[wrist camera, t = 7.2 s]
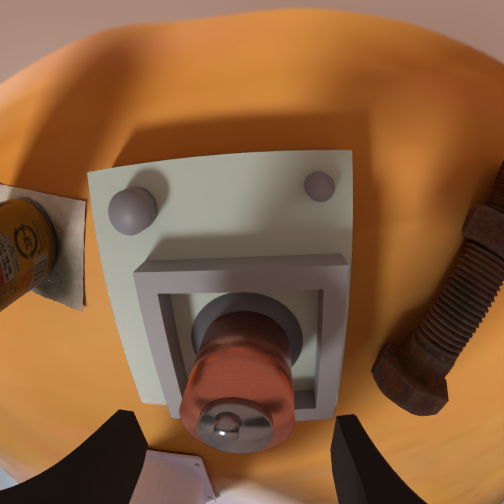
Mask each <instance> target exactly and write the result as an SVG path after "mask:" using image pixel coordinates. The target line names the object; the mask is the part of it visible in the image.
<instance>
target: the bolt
mask: <svg viewBox="0 0 504 504" xmlns="http://www.w3.org/2000/svg"><path fill="white" fill-rule="evenodd" d="M496 179H497V180H496V181H495V186H493V190H492V191H491V196H489V201H487V202H486V204H487V206H485V205H480V204H478V205H475V206H474V207H473V208H472V210H471V211H470V214H469V216H468V218H467V220H466V222H465V224H464V226H463V228H462V234H463V236H464V237H465V238H466V239H468V240H469V241H470V243H467V244H468V247H469V248H465V251H466V253H462V255H463V258H460V259H459V260H460V263H459V264H456V265H457V267H458V269H454V271H455V274H451V276H452V279H448V281H449V284H445V286H446V289H442V291H443V294H439V297H440V299H436V302H437V304H433V307H434V309H430V312H431V313H427V318H424V319H423V321H424V323H421V324H420V326H421V327H419V328H417V330H416V331H415V332H414V333H412V335H411V336H410V338H409V339H408V341H407V342H406V343H405V345H404V346H403V347H402V348H400V347H398V346H395V345H393V344H390V343H388V344H387V345H386V346H385V348H384V349H383V350H382V352H381V353H380V355H379V356H378V357H377V359H376V361H375V363H374V365H373V367H372V370H371V372H372V374H373V377H374V380H375V382H376V383H377V385H378V387H379V389H380V390H381V392H382V393H383V394H384V395H385V396H386V397H387V398H389V399H390V400H391V401H393V402H394V403H395V404H396V405H398V406H399V407H401V408H403V409H404V410H406V411H408V412H409V413H411V414H414V415H418V416H429V415H435V414H437V413H438V412H439V411H440V410H441V409H442V408H443V407H444V405H445V404H446V403H447V402H448V401H449V400H448V391H447V382H446V379H445V376H446V375H447V374H448V373H449V371H450V370H451V369H452V367H453V366H454V363H455V361H456V359H457V358H458V356H459V354H460V352H462V350H463V348H464V347H465V346H466V343H468V342H469V338H472V336H473V335H472V333H475V332H476V328H479V323H482V318H485V313H484V312H486V313H488V312H489V311H488V308H487V307H492V306H491V302H494V301H495V300H494V297H495V296H497V292H496V291H500V288H499V286H503V283H502V281H504V161H503V162H502V166H501V167H500V171H499V172H498V176H497V177H496Z"/></svg>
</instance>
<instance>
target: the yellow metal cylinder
mask: <svg viewBox="0 0 504 504" xmlns="http://www.w3.org/2000/svg"><path fill="white" fill-rule="evenodd" d="M85 204H86V201H81V200H76V199H71V198H67V197H60V196H56V195H52V194H46V193H41V192H37V191H33V190H28V189H22V188H17V187H13V186H7V185H1V184H0V312H1V311H2V310H4V309H5V308H6V307H8V306H9V305H10V304H12V303H13V302H14V301H16V300H17V299H18V298H20V297H21V296H23V295H24V294H25V293H27V292H28V291H33V292H35V293H37V294H40V295H41V296H43V297H45V298H49V299H52V300H54V301H57V302H60V303H62V304H65V305H66V306H69V307H70V308H74V309H77V310H80V311H82V312H83V254H84V226H85ZM55 223H56V224H57V227H55ZM58 228H60V229H61V230H62V233H60V232H59V230H58ZM48 280H50V281H48Z"/></svg>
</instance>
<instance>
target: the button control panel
mask: <svg viewBox="0 0 504 504" xmlns="http://www.w3.org/2000/svg"><path fill="white" fill-rule="evenodd" d="M87 176H88V185H89V193H90V200H91V207H92V214H93V220H94V226H95V232H96V238H97V243H98V249H99V254H100V259H101V264H102V268H103V273H104V277H105V282H106V286H107V290H108V294H109V298H110V302H111V306H112V310H113V314H114V317H115V321H116V325H117V328H118V332H119V335H120V338H121V342H122V345H123V348H124V352H125V355H126V358H127V361H128V364H129V367H130V370H131V373H132V376H133V379H134V382H135V384H136V387H137V390H138V393H139V395H140V398H141V401H142V403H151V404H159V405H167V407H168V410H169V413H170V416H171V418H176V419H180V415H179V407H180V404H181V401H182V398H183V395H184V392H185V389H186V386H187V383H188V380H189V377H190V374H191V371H192V368H193V366H194V363H195V360H196V357H197V354H198V351H199V348H200V345H201V342H202V339H203V337H204V334H205V331H206V329H207V328H208V326H209V325H210V324H211V323H212V322H213V321H214V320H215V319H217V318H218V317H220V316H222V315H224V314H227V313H230V312H235V311H253V312H258V313H261V314H264V315H266V316H268V317H270V318H272V319H273V320H275V321H276V322H277V323H279V324H280V326H281V327H282V328H283V329H284V330H285V332H286V334H287V336H288V339H289V343H290V354H291V367H292V381H293V395H294V411H295V421H311V420H324V419H333V415H334V408H335V406H336V405H337V402H338V395H339V389H340V381H341V374H342V366H343V358H344V349H345V340H346V330H347V320H348V308H349V295H350V280H351V261H352V233H353V164H352V150H294V151H267V152H249V153H234V154H221V155H210V156H199V157H189V158H180V159H171V160H163V161H155V162H148V163H141V164H134V165H127V166H121V167H115V168H109V169H103V170H97V171H92V172H87Z"/></svg>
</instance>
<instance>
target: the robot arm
mask: <svg viewBox="0 0 504 504" xmlns="http://www.w3.org/2000/svg"><path fill="white" fill-rule="evenodd" d="M147 447H148V443H147V441H146V439H145V437H144V435H143V432H142V430H141V428H140V426H139V423H138V421H137V419H136V416H135V414H134V412H133V411H126V410H120V409H119V410H118V411H117V412H116V413H115V414H114V415H113V416H112V417H110V418H109V419H108V420H107V421H106V422H105V423H104V424H103V425H102V426H101V427H100V428H99V429H98V430H97V431H95V432H94V433H93V434H92V435H91V436H90V437H89V438H88V439H87V440H86V441H84V442H83V443H82V444H81V445H80V446H79V447H77V448H76V449H75V450H74V451H72V452H71V453H70V454H69V455H67V456H66V457H65V458H64V459H62V460H61V461H59V462H58V463H57V464H55V465H54V466H52V467H50V468H49V469H47V470H46V471H44V472H42V473H41V474H39V475H37V476H35V477H33V478H31V479H29V480H27V481H25V482H23V483H20V484H18V485H15V486H13V487H10V488H7V489H4V490H1V491H0V504H206V502H209V503H215V502H216V497H215V494H214V492H213V489H212V486H211V483H210V480H209V478H208V475H207V472H206V469H205V466H204V463H203V460H202V458H200V457H198V456H191V455H182V454H174V453H166V452H159V451H153V450H147ZM330 450H331V462H332V473H333V478H334V483H335V488H336V493H337V497H338V502H339V504H427V503H426V502H425V501H423V500H422V499H421V498H420V497H419V496H418V495H417V494H416V493H415V492H414V491H412V490H411V489H410V488H409V487H408V486H407V485H406V483H405V482H404V481H403V480H402V479H401V478H400V477H399V476H398V475H397V473H396V472H395V471H394V470H393V469H392V468H391V466H390V465H389V464H388V463H387V461H386V460H385V459H384V457H383V456H382V455H381V453H380V452H379V451H378V449H377V448H376V447H375V445H374V444H373V442H372V441H371V439H370V438H369V436H368V435H367V433H366V432H365V430H364V428H363V427H362V425H361V423H360V422H359V420H358V418H357V416H356V415H354V414H351V415H343V416H337V417H336V423H335V428H334V434H333V439H332V444H331V449H330Z"/></svg>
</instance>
